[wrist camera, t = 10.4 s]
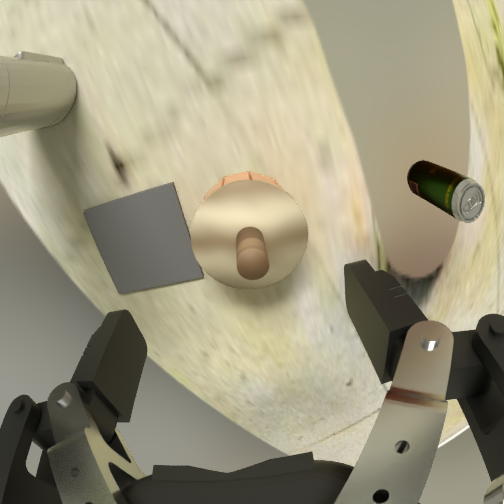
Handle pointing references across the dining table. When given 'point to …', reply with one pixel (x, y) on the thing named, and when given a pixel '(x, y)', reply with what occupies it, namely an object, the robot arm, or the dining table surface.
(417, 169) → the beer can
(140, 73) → the dining table surface
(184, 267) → the mat
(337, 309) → the dining table surface
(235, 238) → the lid
